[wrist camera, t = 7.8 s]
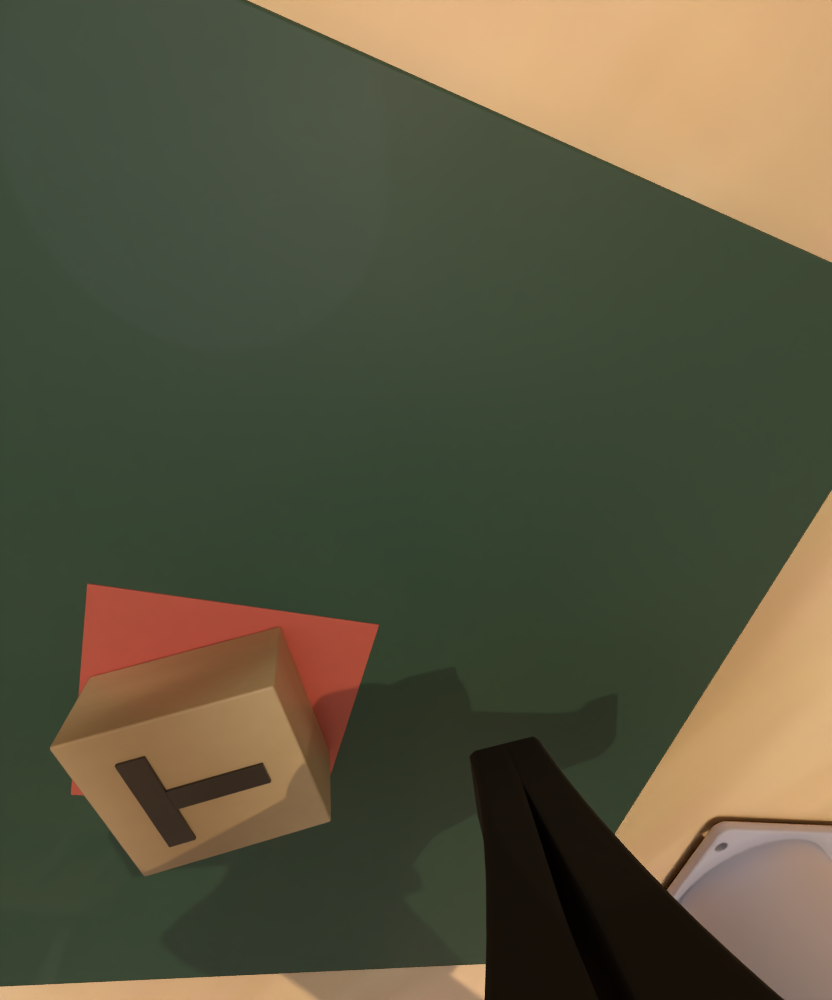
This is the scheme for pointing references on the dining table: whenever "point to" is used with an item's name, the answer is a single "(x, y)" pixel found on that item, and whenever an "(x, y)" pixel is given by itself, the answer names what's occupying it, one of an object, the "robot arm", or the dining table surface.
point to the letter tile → (199, 751)
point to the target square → (198, 623)
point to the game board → (364, 458)
